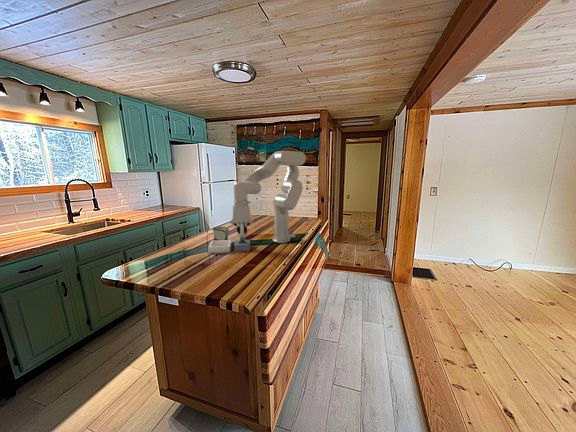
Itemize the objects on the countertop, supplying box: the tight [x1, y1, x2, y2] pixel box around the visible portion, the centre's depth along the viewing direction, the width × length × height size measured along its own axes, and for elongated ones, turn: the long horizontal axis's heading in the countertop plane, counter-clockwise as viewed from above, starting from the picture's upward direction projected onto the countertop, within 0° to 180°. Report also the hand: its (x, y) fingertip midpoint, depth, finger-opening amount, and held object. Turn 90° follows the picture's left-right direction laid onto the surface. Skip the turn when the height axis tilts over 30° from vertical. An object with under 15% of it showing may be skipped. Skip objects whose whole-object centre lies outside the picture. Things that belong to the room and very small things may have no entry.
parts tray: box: [207, 239, 232, 255], centre depth 140 cm, size 12×12×4 cm
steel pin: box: [239, 222, 246, 242], centre depth 140 cm, size 3×3×12 cm
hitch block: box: [233, 239, 251, 253], centre depth 142 cm, size 9×9×4 cm
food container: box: [212, 226, 230, 241], centre depth 153 cm, size 12×6×10 cm, turn 58°
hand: (242, 233), depth 140 cm, fingers closed on steel pin, 3 cm apart
